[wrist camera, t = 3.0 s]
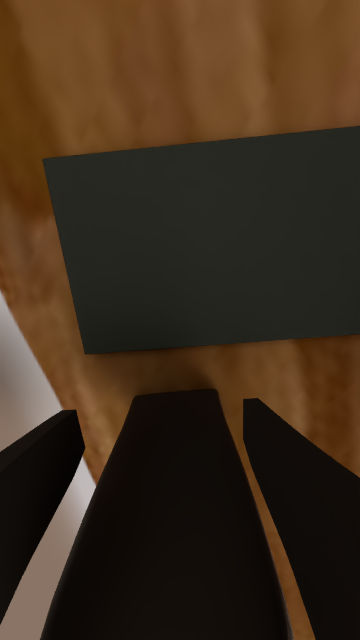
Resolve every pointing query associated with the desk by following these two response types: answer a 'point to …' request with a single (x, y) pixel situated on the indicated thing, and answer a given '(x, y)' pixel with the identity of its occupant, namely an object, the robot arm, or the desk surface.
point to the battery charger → (171, 537)
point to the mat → (212, 240)
